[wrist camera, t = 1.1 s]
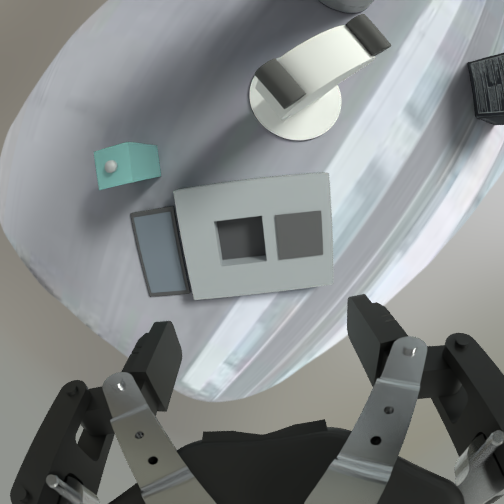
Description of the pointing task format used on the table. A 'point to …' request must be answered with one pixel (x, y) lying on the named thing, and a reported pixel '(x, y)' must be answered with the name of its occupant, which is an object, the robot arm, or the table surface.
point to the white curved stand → (313, 79)
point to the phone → (160, 251)
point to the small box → (488, 88)
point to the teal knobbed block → (126, 164)
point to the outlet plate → (257, 235)
